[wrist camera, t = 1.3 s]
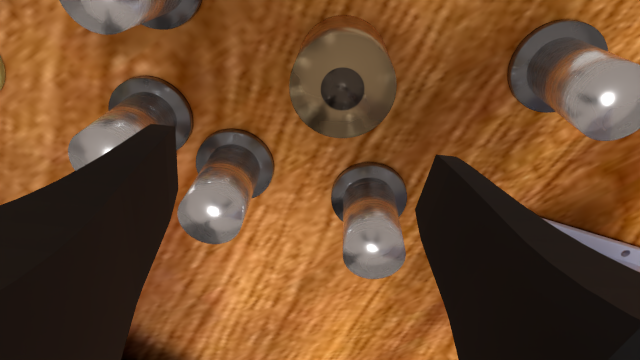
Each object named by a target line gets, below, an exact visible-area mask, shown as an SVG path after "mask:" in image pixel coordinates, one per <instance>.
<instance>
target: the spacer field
mask: <svg viewBox="0 0 640 360" xmlns="http://www.w3.org/2000/svg"><path fill="white" fill-rule="evenodd" d="M60 2H61V4H62V6H63V7H64V9H65V10H66V12H67V13H68V14H69V15H70V16H71V17H72V18H73V19H74V20H75V21H76V22H77V23H78V24H80V25H81V26H83V27H84V28H86V29H88V30H90V31H93V32H95V33H99V34H106V35H108V34H116V33H119V32H122V31H125V30H127V29H129V28H132V27H134V26H137V25H139V24H142V25H144V26H147V27H150V28H154V29H171V28H175V27H178V26H179V25H181V24H183V23H185V22H187V21H188V20H190V19H191V18H192V17H193V16H194V15H195V13H196V12H197V11H198V9H199V7H200V5H201V2H202V0H60ZM508 82H509V87H510V89H511V91H512V93H513V95H514V96H515V97H516V98H517V100H519V101H520V102H521V103H522V104H523V105H524V106H526V107H528V108H529V109H532V110H534V111H538V112H557V113H559V114H560V115H561V116H562V117H564V118H565V119H566V120H567V121H569V122H570V123H571V124H572V125H573V126H575V127H576V128H577V129H578V130H580V131H581V132H582V133H583V134H585V135H586V136H588V137H590V138H592V139H595V140H601V141H610V140H616V139H620V138H623V137H625V136H628V135H630V134H632V133H634V132H635V131H637V130H638V129H640V65H639V64H636V63H634V62H631V61H629V60H627V59H624V58H622V57H620V56H617V55H615V54H612V53H610V52H608V48H607V44H606V42H605V39H604V37H603V36H602V35H601V33H600V32H599V31H598V30H597V29H595V28H594V27H592V26H591V25H588V24H586V23H583V22H580V21H576V20H557V21H553V22H550V23H547V24H545V25H543V26H541V27H539V28H537V29H536V30H534V31H533V32H531V33H530V34H529V35H528V36H527V37H526V38H525V39H524V40H523V41H522V42H521V43H520V44H519V46H518V47H517V49H516V50H515V52H514V54H513V56H512V58H511V61H510V64H509V68H508ZM150 124H158V125H167V126H175V132H176V150H178V149H179V148H180V147H182V145H183V144H184V143H185V142H186V141H187V139H188V138H189V136H190V134H191V131H192V127H193V116H192V112H191V109H190V106H189V104H188V102H187V101H186V99H185V97H184V96H183V95H182V94H181V93H180V92H179V91H178V90H177V89H176V88H175V87H174V86H172V85H171V84H169V83H168V82H166V81H164V80H162V79H159V78H156V77H151V76H138V77H134V78H131V79H129V80H127V81H125V82H124V83H122V84H121V85H119V86H118V87H117V88H116V89H115V90H114V92H113V93H112V95H111V98H110V101H109V111H108V112H107V113H105V114H104V115H103V116H101V117H100V118H98V119H97V120H96V121H94V122H93V123H92V124H90V125H89V126H87V127H86V128H85V129H83V130H82V131H80V132H79V133H78V134H76V135H75V136H74V137H73V138H72V140H71V141H70V144H69V148H68V155H69V159H70V162H71V164H72V166H73V168H74V170H75V171H76V170H78V169H79V168H81V167H83V166H85V165H86V164H88V163H90V162H92V161H93V160H95V159H97V158H99V157H100V156H102V155H103V154H105V153H107V152H108V151H110V150H111V149H113V148H114V147H116V146H117V145H119V144H121V143H122V142H124V141H125V140H127V139H128V138H130V137H131V136H133V135H134V134H136V133H137V132H139V131H140V130H142V129H143V128H145V127H146V126H148V125H150ZM196 167H197V172H198V176H197V177H196V179H195V181H194V182H193V184H192V185H191V187H190V189H189V190H188V192H187V193H186V195H185V197H184V198H183V200H182V201H181V203H180V205H179V208H178V219H179V222H180V224H181V226H182V228H183V229H184V230H185V231H186V232H187V233H188V234H189V235H190V236H192V237H193V238H195V239H197V240H199V241H201V242H204V243H209V244H221V243H225V242H228V241H230V240H232V239H233V238H234V237H235V236H236V235H237V234H238V233H239V231H240V228H241V226H242V223H243V220H244V217H245V215H246V212H247V209H248V206H249V203H250V201H251V198H254V197H256V196H258V195H260V194H261V193H262V192H263V191H264V190H265V189H266V188H267V187H268V185H269V184H270V181H271V178H272V175H273V171H274V163H273V158H272V155H271V153H270V151H269V149H268V148H267V146H266V145H265V144H264V143H263V142H262V141H261V140H260V139H259V138H257V137H256V136H254V135H253V134H251V133H249V132H246V131H243V130H238V129H225V130H221V131H218V132H215V133H213V134H212V135H210V136H209V137H208V138H207V139H206V140H205V141H204V142H203V144H202V145H201V147H200V148H199V150H198V153H197V156H196ZM331 200H332V206H333V209H334V211H335V213H336V215H337V216H338V217H339V218H340V219H341V220H342V221H343V259H344V263H345V265H346V266H347V268H348V269H349V270H350V271H351V272H353V273H354V274H356V275H358V276H360V277H363V278H368V279H379V278H384V277H387V276H390V275H392V274H394V273H395V272H396V271H398V270H399V269H400V267H401V266H402V265H403V263H404V261H405V256H406V253H405V247H404V242H403V236H402V231H401V226H400V221H399V216H400V215H401V214H402V212H403V211H404V208H405V206H406V202H407V193H406V189H405V185H404V182H403V180H402V179H401V177H400V176H399V175H398V173H396V172H395V171H394V170H393V169H391V168H390V167H388V166H385V165H383V164H379V163H361V164H357V165H354V166H352V167H350V168H348V169H346V170H345V171H343V172H342V173H341V174H340V175H339V176H338V178H337V179H336V181H335V183H334V185H333V188H332V197H331Z"/></svg>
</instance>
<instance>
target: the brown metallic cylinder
mask: <svg viewBox="0 0 640 360" xmlns="http://www.w3.org/2000/svg"><path fill="white" fill-rule="evenodd" d="M289 90H290V97H291V101H292V104H293V107H294V109H295V111H296V112H297V114H298V115H299V117H300V118H301V119H302V121H303V122H304V123H305V124H306V125H308V126H309V127H310V128H312V129H313V130H314V131H316V132H318V133H320V134H323V135H326V136H329V137H334V138H350V137H355V136H359V135H362V134H364V133H366V132H368V131H370V130H372V129H373V128H375V127H376V126H377V125H378V124H380V123H381V122H382V121H383V119H384V118H385V117H386V116H387V114H388V113H389V111H390V109H391V107H392V105H393V102H394V99H395V95H396V76H395V71H394V68H393V66H392V63H391V60H390V58H389V55H388V52H387V50H386V47H385V45H384V42H383V40H382V38H381V36H380V35H379V33H378V32H377V31H376V29H375V28H374V27H373V26H371V25H370V24H369V23H368V22H366V21H364V20H362V19H360V18H357V17H354V16H347V15H340V16H334V17H330V18H327V19H325V20H323V21H321V22H320V23H318V24H317V25H316V26H315V27H313V28H312V30H311V31H310V32H309V33H308V35H307V36H306V38H305V40H304V42H303V44H302V46H301V49H300V51H299V54H298V56H297V59H296V61H295V64H294V66H293V69H292V72H291V76H290V83H289Z"/></svg>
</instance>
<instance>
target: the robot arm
mask: <svg viewBox="0 0 640 360" xmlns="http://www.w3.org/2000/svg"><path fill="white" fill-rule="evenodd" d="M177 192H178V174H177V153H176V132H175V126H167V125H158V124H150V125H148V126H146V127H145V128H143V129H142V130H140V131H139V132H137V133H136V134H134V135H133V136H131V137H130V138H128V139H127V140H125V141H124V142H122V143H121V144H119V145H117V146H116V147H114V148H113V149H111V150H110V151H108V152H107V153H105V154H103V155H102V156H100V157H99V158H97V159H95V160H93V161H92V162H90V163H88V164H86V165H85V166H83V167H81V168H79V169H78V170H76V171H74V172H72V173H71V174H69V175H67V176H65V177H63V178H61V179H60V180H58V181H56V182H53V183H51V184H49V185H47V186H45V187H43V188H41V189H39V190H36V191H34V192H32V193H30V194H28V195H25V196H23V197H21V198H18V199H16V200H13V201H11V202H8V203H5V204H3V205H0V360H121V358H122V354H123V351H124V347H125V343H126V340H127V336H128V333H129V329H130V326H131V322H132V319H133V315H134V312H135V308H136V305H137V302H138V299H139V296H140V293H141V291H142V288H143V285H144V283H145V281H146V278H147V276H148V273H149V271H150V268H151V266H152V264H153V261H154V259H155V256H156V254H157V252H158V249H159V247H160V244H161V242H162V239H163V237H164V234H165V232H166V229H167V227H168V224H169V222H170V219H171V215H172V212H173V208H174V204H175V200H176V196H177ZM415 212H416V217H417V223H418V228H419V233H420V237H421V241H422V244H423V247H424V250H425V252H426V255H427V258H428V261H429V264H430V266H431V269H432V272H433V275H434V277H435V280H436V283H437V286H438V288H439V291H440V294H441V297H442V299H443V302H444V305H445V308H446V311H447V314H448V318H449V321H450V325H451V329H452V333H453V338H454V342H455V346H456V350H457V355H458V359H459V360H640V247H636V246H633V245H630V244H626V243H623V242H620V241H616V240H613V239H610V238H607V237H603V236H600V235H597V234H593V233H590V232H587V231H583V230H580V229H577V228H573V227H570V226H567V225H564V224H560V223H557V222H554V221H550V220H547V219H544V218H541V217H539V216H538V215H536V214H535V213H533V212H532V211H530V210H529V209H527V208H526V207H525V206H523V205H522V204H520V203H519V202H518V201H516V200H515V199H514V198H512V197H511V196H510V195H508V194H507V193H506V192H504V191H503V190H502V189H500V188H499V187H498V186H496V185H495V184H494V183H492V182H491V181H490V180H488V179H487V178H486V177H485V176H483V175H482V174H481V173H479V172H478V171H477V170H475V169H474V168H472V167H471V166H470V165H468V164H467V163H465V162H464V161H462V160H461V159H459V158H457V157H453V156H444V155H436V156H435V159H434V161H433V164H432V167H431V169H430V172H429V175H428V177H427V180H426V182H425V185H424V188H423V190H422V193H421V196H420V198H419V201H418V203H417V206H416V209H415ZM625 250H626V251H625ZM623 251H624V252H623Z"/></svg>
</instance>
